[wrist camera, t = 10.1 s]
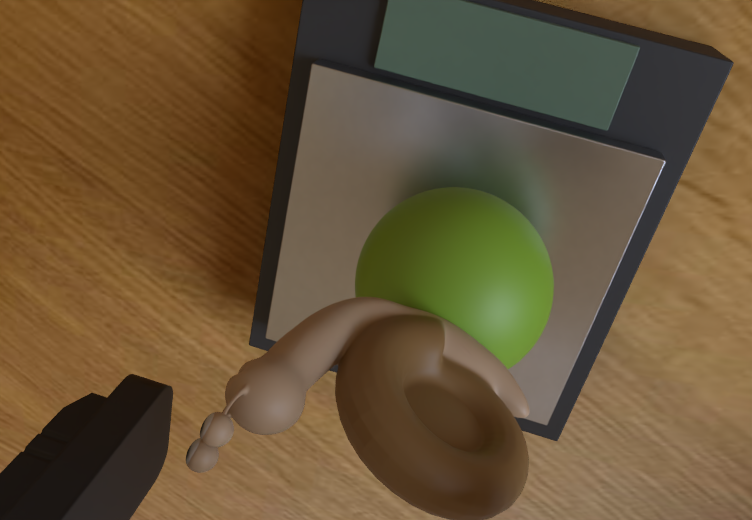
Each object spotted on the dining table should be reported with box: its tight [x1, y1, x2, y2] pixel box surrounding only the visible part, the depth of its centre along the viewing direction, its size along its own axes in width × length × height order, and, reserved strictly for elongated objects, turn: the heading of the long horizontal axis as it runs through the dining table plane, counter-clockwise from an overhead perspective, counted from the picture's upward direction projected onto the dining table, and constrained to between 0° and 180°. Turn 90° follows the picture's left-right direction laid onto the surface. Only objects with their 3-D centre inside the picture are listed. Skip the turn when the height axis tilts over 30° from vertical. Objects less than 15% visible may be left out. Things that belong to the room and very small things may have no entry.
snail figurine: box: [186, 187, 554, 520], centre depth 16 cm, size 5×6×12 cm
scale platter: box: [266, 59, 666, 425], centre depth 22 cm, size 10×10×1 cm
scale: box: [249, 0, 733, 441], centre depth 23 cm, size 14×12×3 cm
